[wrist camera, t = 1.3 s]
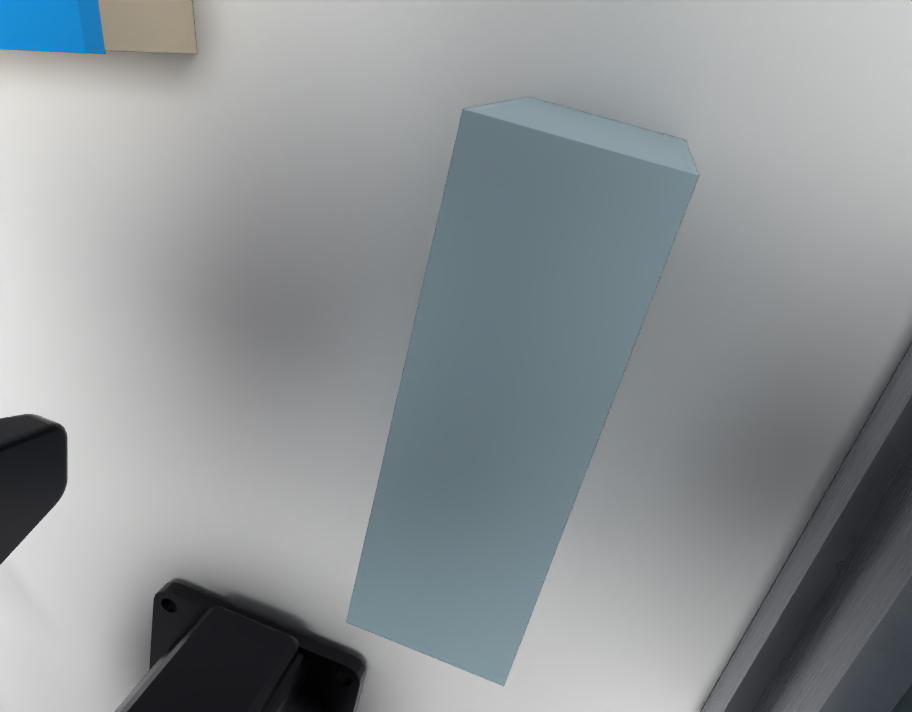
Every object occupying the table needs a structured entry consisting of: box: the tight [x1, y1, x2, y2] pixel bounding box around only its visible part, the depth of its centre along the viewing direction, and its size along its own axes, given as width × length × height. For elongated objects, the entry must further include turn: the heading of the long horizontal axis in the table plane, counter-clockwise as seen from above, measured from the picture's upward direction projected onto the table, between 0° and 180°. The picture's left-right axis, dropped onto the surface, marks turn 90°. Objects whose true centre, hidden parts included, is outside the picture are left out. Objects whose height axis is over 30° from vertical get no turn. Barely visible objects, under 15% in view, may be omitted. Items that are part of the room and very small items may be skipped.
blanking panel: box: [346, 97, 699, 686], centre depth 13 cm, size 9×3×5 cm, turn 166°
